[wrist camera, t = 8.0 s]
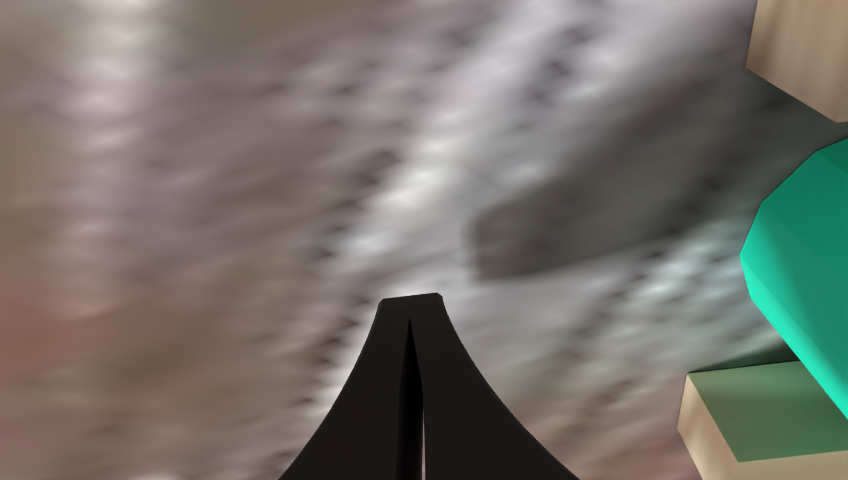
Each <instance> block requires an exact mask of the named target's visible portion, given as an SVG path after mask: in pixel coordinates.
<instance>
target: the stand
mask: <svg viewBox="0 0 848 480" xmlns="http://www.w3.org/2000/svg"><path fill="white" fill-rule="evenodd" d="M745 68H746V69H748V70H750V71H751V72H753V73H755V74H756V75H758V76H760V77H761V78H763V79H765V80H766V81H768V82H770V83H771V84H773V85H775V86H776V87H778V88H780V89H781V90H783V91H785V92H786V93H788V94H790V95H791V96H793V97H795V98H796V99H798V100H800V101H801V102H803V103H805V104H806V105H808V106H810V107H811V108H813V109H815V110H816V111H818V112H820V113H821V114H823V115H824V116H826V117H828V118H829V119H831V120H833V121H834V122H836V123H839V122H848V0H758V2H757V8H756V13H755V18H754V24H753V29H752V34H751V39H750V45H749V50H748V55H747V61H746V66H745ZM677 429H678V431H679V433H680V435H681V437H682V439H683V441H684V443H685V445H686V447H687V449H688V451H689V453H690V455H691V457H692V459H693V461H694V463H695V465H696V467H697V469H698V471H699V473H700V475H701V477H702V479H703V480H848V419H847V418H846V417H845V415H844V414H843V413H842V412H841V410H840V409H839V408H838V407H837V405H836V404H835V403H834V402H833V400H832V399H831V398H830V397H829V395H828V394H827V393H826V392H825V390H824V389H823V388H822V387H821V385H820V384H819V383H818V382H817V380H816V379H815V378H814V377H813V375H812V374H811V373H810V372H809V370H808V369H807V368H806V367H805V365H804V364H803V363H802V362H801V361H794V362H785V363H776V364H768V365H759V366H750V367H741V368H733V369H724V370H715V371H707V372H698V373H689V374H687V378H686V383H685V389H684V394H683V399H682V404H681V410H680V415H679V420H678V426H677Z"/></svg>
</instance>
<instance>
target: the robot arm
mask: <svg viewBox="0 0 848 480" xmlns="http://www.w3.org/2000/svg"><path fill="white" fill-rule="evenodd" d="M423 408H424V435H425V480H580V479H579V478H577V477H576V476H575V475H574V474H573V473H571V472H570V471H569V470H568V469H567V468H566V467H565V466H564V465H562V464H561V463H560V462H559V461H558V460H557V459H556V458H554V457H553V456H552V455H551V454H550V453H549V452H548V451H547V450H546V449H545V448H544V447H543V446H542V445H541V444H540V443H539V442H538V441H537V440H536V439H535V438H534V437H533V436H532V435H531V434H530V433H529V432H528V431H527V430H526V429H525V428H524V427H523V426H522V424H521V423H520V422H519V421H518V420H517V419H516V418H515V417H514V415H513V414H512V413H511V412H510V411H509V410H508V408H507V407H506V406H505V405H504V404H503V402H502V401H501V400H500V399H499V398H498V396H497V395H496V394H495V392H494V391H493V390H492V388H491V387H490V386H489V384H488V383H487V382H486V380H485V379H484V377H483V376H482V374H481V373H480V372H479V370H478V369H477V367H476V366H475V364H474V362H473V361H472V359H471V358H470V356H469V354H468V353H467V351H466V349H465V348H464V346H463V344H462V342H461V341H460V339H459V337H458V335H457V333H456V331H455V329H454V327H453V325H452V323H451V321H450V319H449V316H448V314H447V312H446V309H445V306H444V303H443V298H442V296H441V295H440V294H438V293H428V294H420V295H411V296H403V297H395V298H386V299H383V300H382V301H381V302H380V303H379V305H378V309H377V312H376V315H375V319H374V321H373V324H372V327H371V330H370V332H369V335H368V337H367V340H366V342H365V344H364V346H363V349H362V351H361V353H360V355H359V357H358V360H357V362H356V364H355V366H354V368H353V370H352V372H351V374H350V376H349V377H348V379H347V381H346V383H345V385H344V387H343V389H342V390H341V392H340V394H339V396H338V398H337V399H336V401H335V403H334V404H333V406H332V408H331V409H330V411H329V412H328V414H327V416H326V417H325V419H324V420H323V422H322V423H321V425H320V426H319V428H318V429H317V431H316V432H315V434H314V435H313V436H312V438H311V439H310V440H309V442H308V443H307V444H306V446H305V447H304V448H303V450H302V451H301V452H300V454H299V455H298V456H297V458H296V459H295V460H294V462H293V463H292V464H291V465H290V467H289V468H288V469H287V470H286V471H285V472H284V474H283V475H282V476H281V477H280V478H279V479H278V480H422V448H423Z"/></svg>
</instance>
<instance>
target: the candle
mask: <svg viewBox="0 0 848 480" xmlns="http://www.w3.org/2000/svg"><path fill="white" fill-rule="evenodd" d="M740 260H741V264H742V268H743V271H744V275H745V279H746V283H747V287H748V290H749V294H750V298H751V299H752V300H753V302H754V303H755V304H756V305H757V307H758V308H759V309H760V310H761V312H762V313H763V314H764V315H765V317H766V318H767V319H768V320H769V322H770V323H771V324H772V325H773V327H774V328H775V329H776V330H777V332H778V333H779V334H780V335H781V337H782V338H783V339H784V340H785V342H786V343H787V344H788V345H789V347H790V348H791V349H792V350H793V352H794V353H795V354H796V355H797V357H798V358H799V359H800V360H801V362H802V363H803V364H804V365H805V367H806V368H807V369H808V370H809V372H810V373H811V374H812V375H813V377H814V378H815V379H816V380H817V382H818V383H819V384H820V385H821V387H822V388H823V389H824V390H825V392H826V393H827V394H828V395H829V397H830V398H831V399H832V400H833V402H834V403H835V404H836V405H837V407H838V408H839V409H840V410H841V412H842V413H843V414H844V415H845V417H846V418H847V419H848V138H846V139H844V140H842V141H839V142H837V143H835V144H832V145H830V146H828V147H825V148H823V149H820V150H818V151H816V152H815V153H814V154H812V155H811V156H810V157H809V158H808V159H807V160H806V161H805V162H804V163H803V164H802V165H801V166H800V167H799V168H798V169H796V170H795V171H794V172H793V173H792V174H791V175H790V176H789V177H788V178H787V179H786V180H785V181H784V182H783V183H782V184H781V185H779V186H778V187H777V188H776V189H775V190H774V191H773V192H772V193H771V194H770V195H769V196H768V197H767V198H766V199H765V200H763V201H762V202H761V205H760V207H759V210H758V212H757V214H756V217H755V219H754V222H753V224H752V226H751V229H750V231H749V234H748V236H747V239H746V241H745V243H744V246H743V248H742V251H741V253H740Z"/></svg>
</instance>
